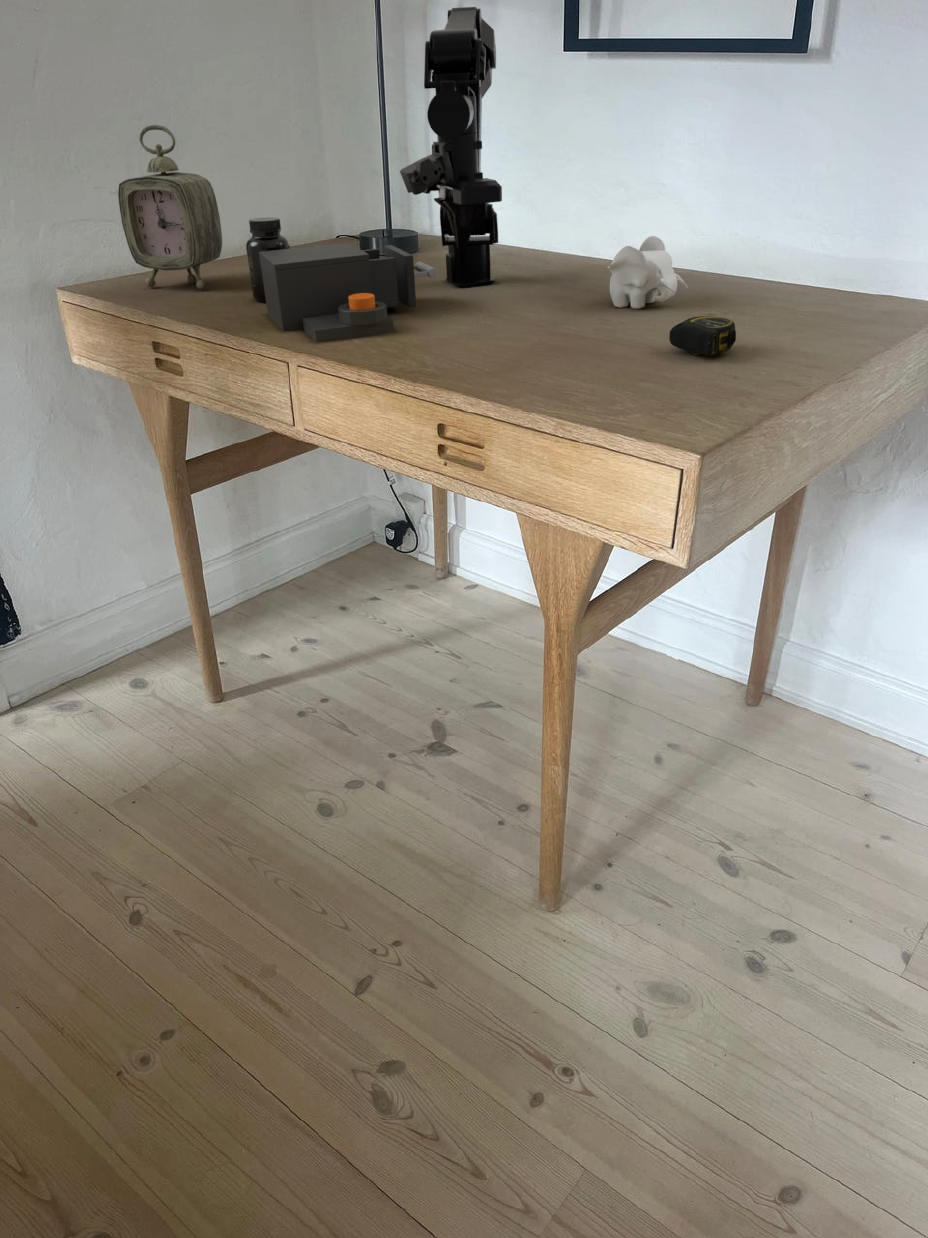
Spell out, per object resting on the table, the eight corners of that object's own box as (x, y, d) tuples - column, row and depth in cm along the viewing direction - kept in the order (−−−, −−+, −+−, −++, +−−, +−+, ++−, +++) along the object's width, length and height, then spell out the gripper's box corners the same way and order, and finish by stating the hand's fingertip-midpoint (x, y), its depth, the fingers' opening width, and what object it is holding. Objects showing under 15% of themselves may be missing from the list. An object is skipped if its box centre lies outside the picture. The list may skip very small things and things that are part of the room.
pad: (377, 320, 134) (375, 295, 132) (395, 333, 127) (393, 307, 125) (303, 330, 131) (300, 304, 129) (318, 344, 124) (314, 317, 122)
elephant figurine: (668, 316, 129) (673, 249, 125) (591, 308, 135) (593, 244, 130) (693, 301, 136) (699, 237, 131) (619, 294, 142) (622, 233, 137)
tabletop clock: (136, 289, 160) (101, 127, 147) (168, 278, 167) (138, 123, 154) (205, 292, 155) (175, 126, 142) (235, 282, 162) (209, 121, 149)
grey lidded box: (354, 304, 144) (347, 242, 139) (375, 319, 134) (369, 254, 130) (267, 314, 140) (258, 251, 135) (283, 331, 130) (274, 264, 126)
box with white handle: (421, 290, 146) (418, 241, 142) (443, 303, 138) (441, 252, 134) (318, 303, 141) (312, 253, 137) (334, 317, 133) (329, 264, 129)
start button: (371, 304, 129) (370, 291, 128) (378, 309, 126) (377, 296, 125) (346, 307, 128) (345, 294, 127) (353, 313, 125) (352, 299, 124)
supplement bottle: (287, 303, 146) (276, 222, 140) (247, 302, 147) (234, 222, 141) (301, 293, 152) (292, 215, 146) (263, 293, 153) (251, 215, 147)
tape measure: (665, 352, 114) (667, 321, 112) (703, 341, 117) (706, 311, 115) (706, 363, 109) (709, 331, 107) (745, 352, 112) (749, 321, 110)
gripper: (384, 133, 137) (392, 245, 145) (425, 141, 122) (432, 264, 130) (454, 128, 140) (458, 237, 148) (502, 135, 125) (504, 256, 133)
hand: (461, 248), depth 140 cm, fingers closed
